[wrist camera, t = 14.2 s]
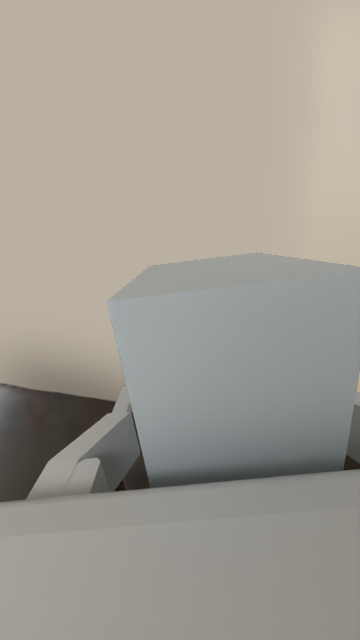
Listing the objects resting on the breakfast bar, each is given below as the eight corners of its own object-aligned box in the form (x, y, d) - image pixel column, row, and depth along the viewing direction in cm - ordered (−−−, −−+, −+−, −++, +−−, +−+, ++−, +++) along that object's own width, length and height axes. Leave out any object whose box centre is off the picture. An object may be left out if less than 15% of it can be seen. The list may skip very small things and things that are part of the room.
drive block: (185, 636, 8) (106, 301, 4) (182, 469, 13) (149, 265, 9) (317, 627, 8) (376, 269, 4) (258, 462, 13) (256, 252, 9)
